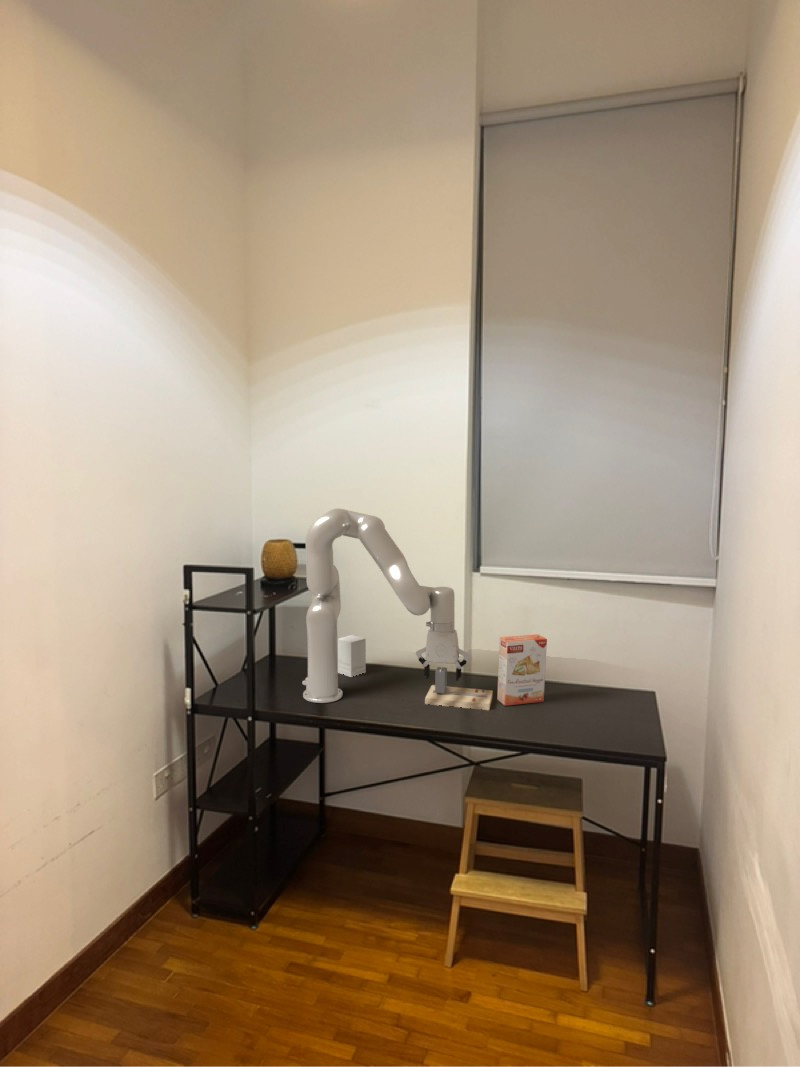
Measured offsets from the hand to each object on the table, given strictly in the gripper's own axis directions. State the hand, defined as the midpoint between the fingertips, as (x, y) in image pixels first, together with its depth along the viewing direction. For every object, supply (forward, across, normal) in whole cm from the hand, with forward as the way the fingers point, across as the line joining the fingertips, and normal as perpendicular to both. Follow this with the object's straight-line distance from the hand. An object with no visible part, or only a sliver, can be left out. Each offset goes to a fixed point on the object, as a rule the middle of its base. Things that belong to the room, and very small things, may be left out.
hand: (442, 678), depth 219 cm
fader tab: (+4, -1, 0) cm, 4 cm away
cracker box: (+7, +24, +4) cm, 26 cm away
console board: (+7, +5, 0) cm, 9 cm away
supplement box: (+6, -35, +16) cm, 39 cm away
